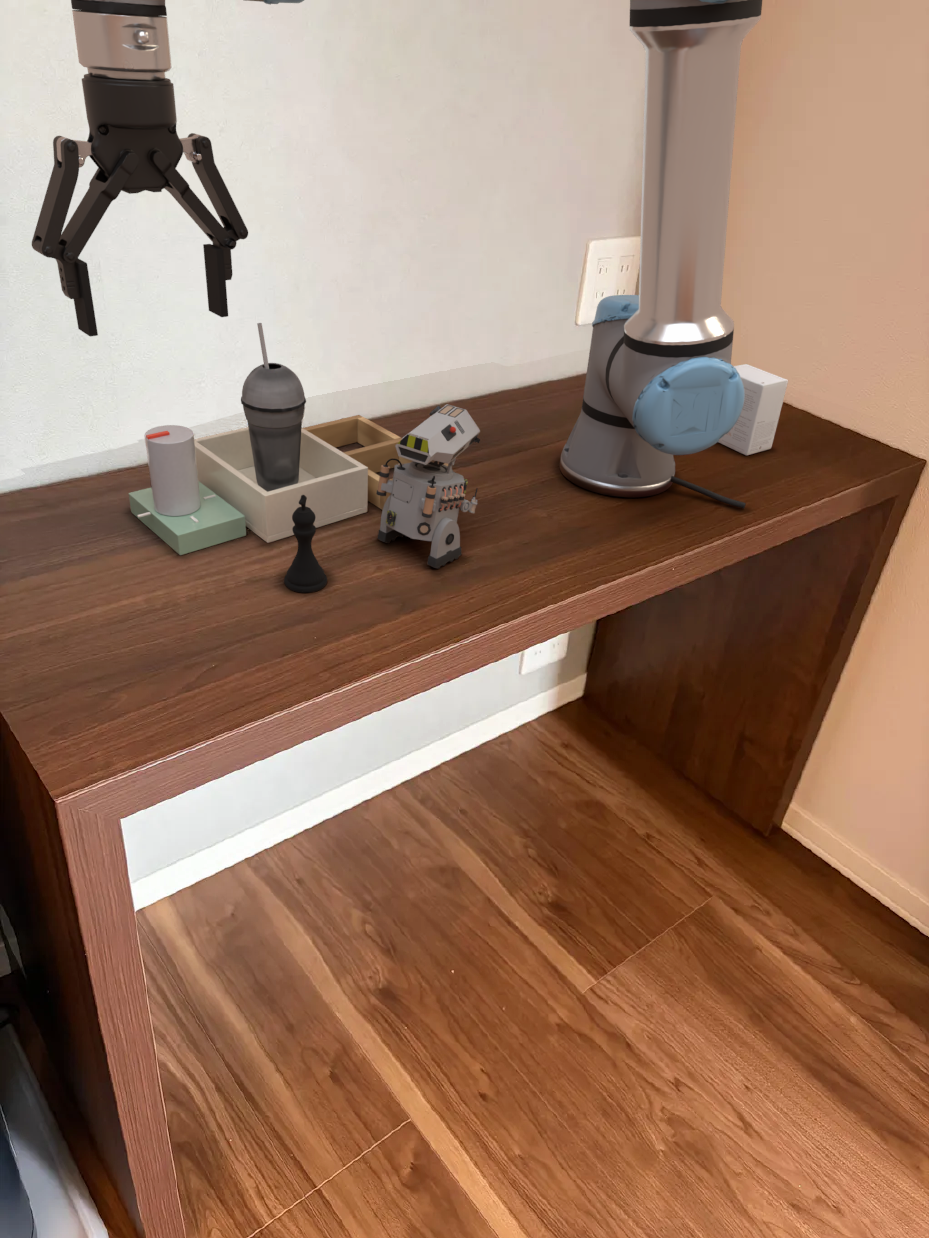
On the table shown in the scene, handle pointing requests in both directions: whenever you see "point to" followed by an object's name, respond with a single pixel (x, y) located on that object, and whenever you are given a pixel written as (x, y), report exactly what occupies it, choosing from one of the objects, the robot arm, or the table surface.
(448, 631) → the table surface
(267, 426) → the beverage cup
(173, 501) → the tap knob
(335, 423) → the wooden compartment tray
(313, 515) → the chess piece
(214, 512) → the green dial base plate
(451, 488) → the figurine
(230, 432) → the cream open storage tray
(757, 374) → the small box
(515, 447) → the table surface
